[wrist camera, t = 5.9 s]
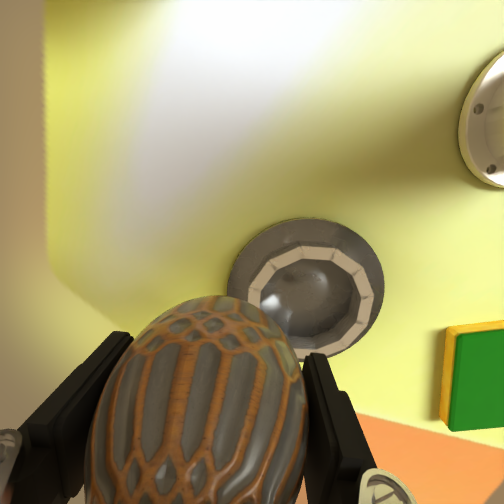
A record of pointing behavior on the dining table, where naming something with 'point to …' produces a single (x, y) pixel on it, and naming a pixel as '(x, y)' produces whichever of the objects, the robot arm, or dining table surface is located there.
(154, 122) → the dining table surface
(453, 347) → the dish sponge
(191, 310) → the vase
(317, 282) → the ring seat
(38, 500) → the robot arm
